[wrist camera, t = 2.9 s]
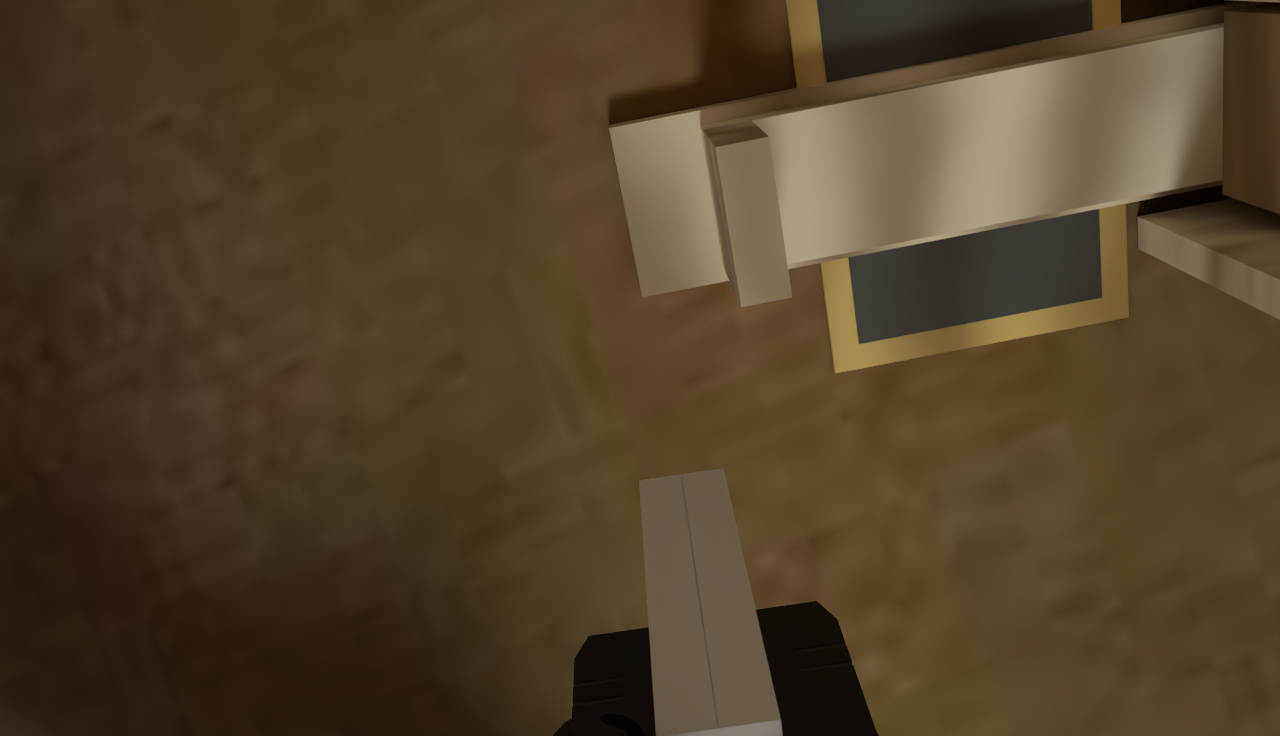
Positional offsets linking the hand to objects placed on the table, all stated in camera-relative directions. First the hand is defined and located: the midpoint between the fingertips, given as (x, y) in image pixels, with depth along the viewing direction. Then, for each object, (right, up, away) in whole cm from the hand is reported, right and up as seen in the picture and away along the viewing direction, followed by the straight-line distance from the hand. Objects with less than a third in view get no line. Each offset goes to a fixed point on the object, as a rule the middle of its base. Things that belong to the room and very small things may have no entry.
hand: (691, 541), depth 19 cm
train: (+13, +11, +17) cm, 24 cm away
